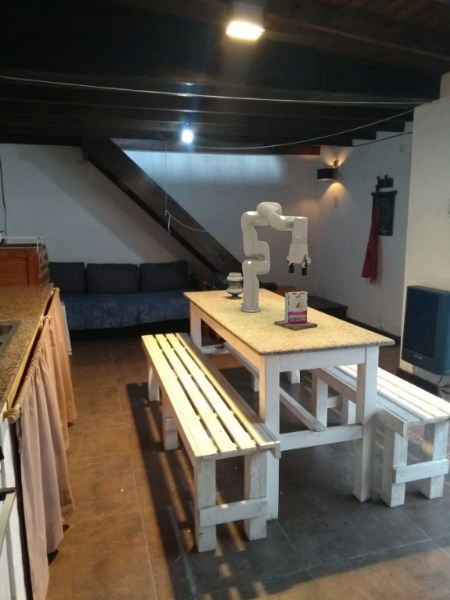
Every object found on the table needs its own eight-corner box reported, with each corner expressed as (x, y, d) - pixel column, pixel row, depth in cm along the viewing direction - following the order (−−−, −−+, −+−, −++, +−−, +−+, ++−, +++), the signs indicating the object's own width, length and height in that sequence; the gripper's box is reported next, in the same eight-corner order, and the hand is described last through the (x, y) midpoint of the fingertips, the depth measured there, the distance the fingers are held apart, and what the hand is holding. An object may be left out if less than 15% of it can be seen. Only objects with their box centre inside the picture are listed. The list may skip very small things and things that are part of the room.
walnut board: (274, 324, 236) (274, 321, 236) (296, 320, 245) (296, 318, 245) (294, 330, 223) (294, 327, 223) (317, 326, 232) (317, 324, 232)
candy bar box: (302, 321, 238) (304, 291, 235) (307, 323, 233) (308, 292, 230) (283, 322, 235) (284, 291, 232) (287, 324, 230) (289, 293, 227)
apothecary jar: (224, 297, 317) (224, 272, 314) (240, 296, 321) (240, 272, 317) (229, 300, 306) (229, 274, 303) (245, 299, 309) (246, 274, 306)
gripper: (282, 240, 231) (281, 272, 234) (305, 242, 217) (303, 276, 220) (293, 240, 235) (291, 272, 238) (316, 242, 221) (314, 275, 224)
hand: (297, 274), depth 229 cm, fingers open, 9 cm apart
